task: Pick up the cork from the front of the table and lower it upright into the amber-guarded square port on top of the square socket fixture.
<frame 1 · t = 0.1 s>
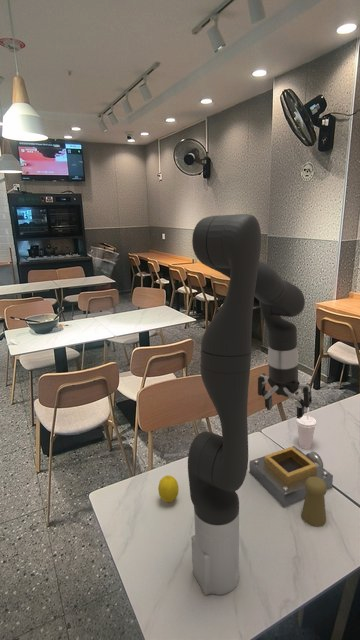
hand: (284, 412, 102), 22 cm above the table, tool pointing down, fingers open, 8 cm apart
lemon: (169, 501, 101), on the table
square socket fixture: (289, 479, 108), on the table
smoothie: (305, 446, 124), on the table
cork: (313, 518, 94), on the table
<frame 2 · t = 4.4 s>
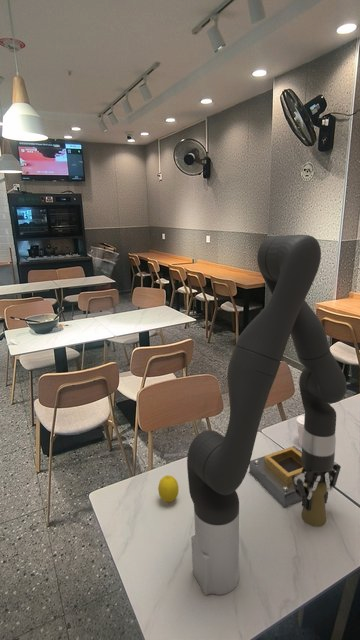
hand: (314, 504, 93), 4 cm above the table, tool pointing down, fingers closed on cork, 4 cm apart
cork: (313, 518, 94), on the table, touching gripper
everything else where it was.
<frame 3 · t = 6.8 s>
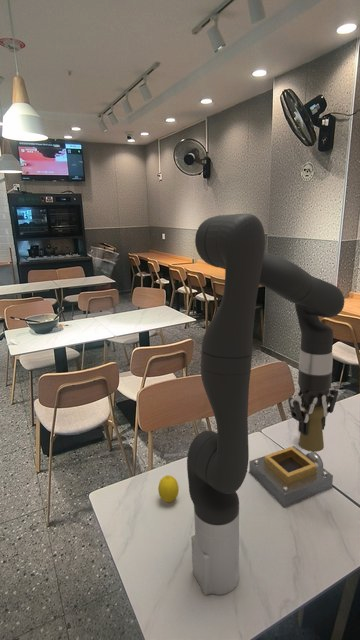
hand: (311, 430, 92), 23 cm above the table, tool pointing down, fingers closed on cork, 4 cm apart
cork: (311, 445, 93), point 18 cm above the table, touching gripper
everything else where it was.
when the fingers open (9 cm above the table, at t = 9.7 s): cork drops 1 cm, resting on square socket fixture.
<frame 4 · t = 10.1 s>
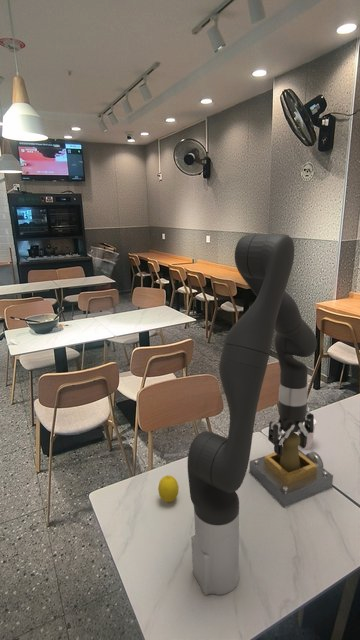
hand: (290, 450, 105), 10 cm above the table, tool pointing down, fingers open, 8 cm apart
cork: (289, 468, 107), point 4 cm above the table, touching square socket fixture
everything else where it was.
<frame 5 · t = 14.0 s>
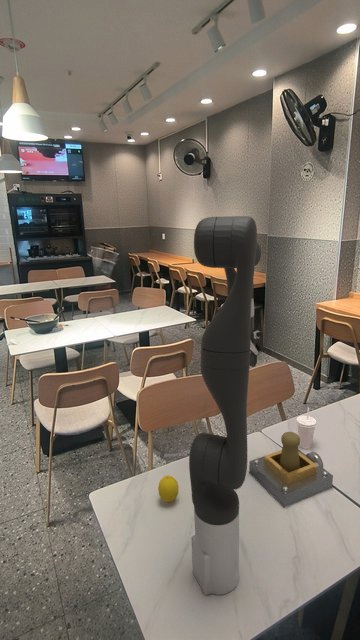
hand: (240, 368, 105), 33 cm above the table, tool pointing down, fingers open, 8 cm apart
nothing on the table moved.
at the end: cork 0.2 cm off-centre on the square socket fixture, point 3.9 cm above the square socket fixture's base; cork tilted 0°; the gripper is holding nothing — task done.
